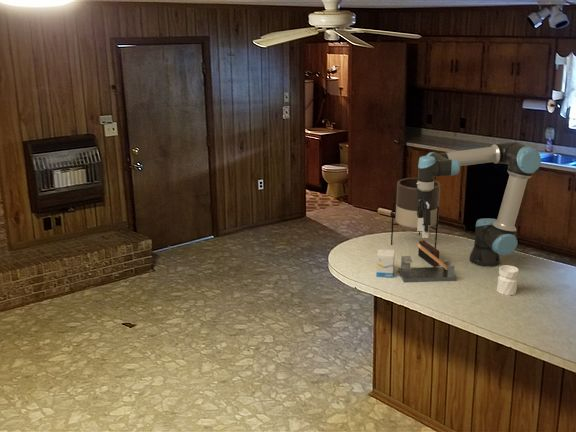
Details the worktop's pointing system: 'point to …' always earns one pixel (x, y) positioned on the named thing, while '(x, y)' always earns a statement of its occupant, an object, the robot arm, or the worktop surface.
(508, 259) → the worktop surface
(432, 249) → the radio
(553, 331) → the worktop surface
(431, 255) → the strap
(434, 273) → the base
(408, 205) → the planter
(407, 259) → the keeper
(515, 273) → the vase
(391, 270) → the ink box
